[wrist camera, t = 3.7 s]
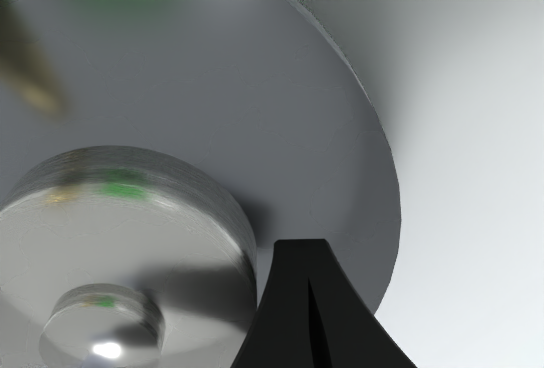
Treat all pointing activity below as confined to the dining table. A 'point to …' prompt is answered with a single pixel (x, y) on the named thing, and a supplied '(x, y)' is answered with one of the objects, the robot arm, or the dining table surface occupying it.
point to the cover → (123, 264)
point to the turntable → (211, 113)
